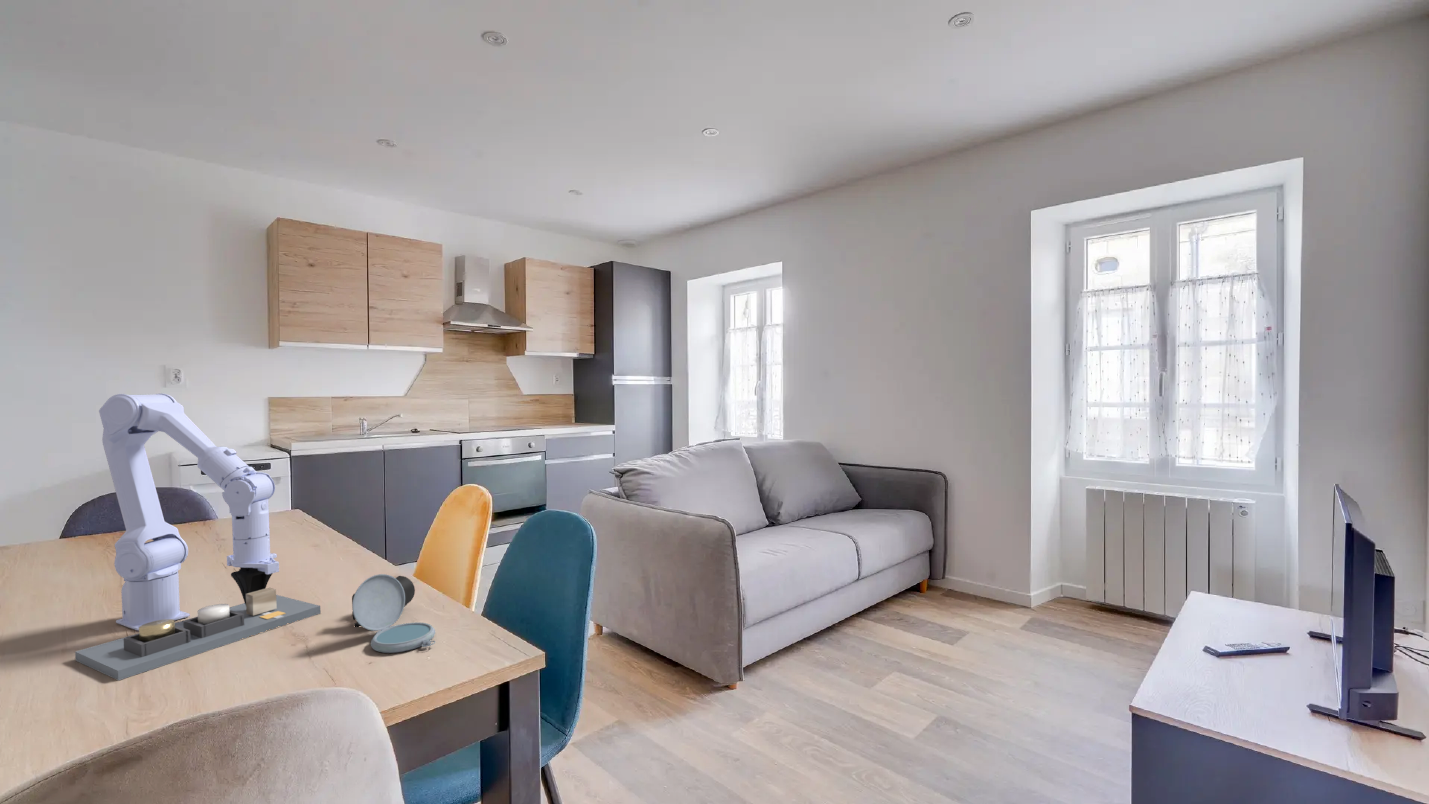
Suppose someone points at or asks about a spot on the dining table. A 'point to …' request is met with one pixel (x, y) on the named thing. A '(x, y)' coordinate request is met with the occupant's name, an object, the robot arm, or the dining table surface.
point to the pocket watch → (388, 616)
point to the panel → (189, 639)
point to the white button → (213, 613)
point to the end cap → (408, 591)
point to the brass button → (156, 629)
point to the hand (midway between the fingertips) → (253, 605)
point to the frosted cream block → (261, 601)
